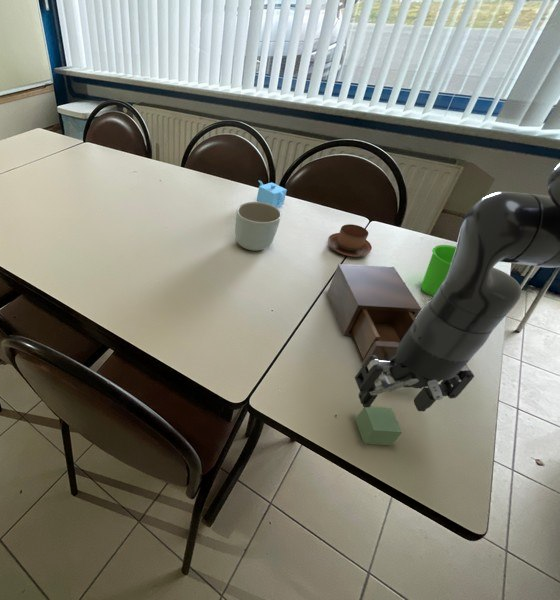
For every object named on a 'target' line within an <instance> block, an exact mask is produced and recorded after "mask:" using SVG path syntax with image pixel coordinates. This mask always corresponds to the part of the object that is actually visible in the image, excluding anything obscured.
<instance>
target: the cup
mask: <svg viewBox="0 0 560 600" xmlns="http://www.w3.org/2000/svg"><path fill="white" fill-rule="evenodd" d="M455 249H456V245H455V246H454V245H450V244H449V245H448V244H440V245H436V246H434V247H433V248H432V249H431V252H432V254H431V257H430V260H429V263H428V265H427V267H426V271H425V274H424V277H423V280H422V282H421V285H420V289H421V291H422V292H423V293H425V294H426V295H429V296H431V297H434V295H435V294H436V292H437V291H438V289H439V288H440V286H441V285H442V283H443V282H444V280H445V279H446V277H447V274H448V272H449V269H450V266H451V263H452V259H453V256H454V253H455Z"/></svg>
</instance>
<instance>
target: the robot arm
mask: <svg viewBox="0 0 560 600" xmlns="http://www.w3.org/2000/svg"><path fill="white" fill-rule="evenodd" d="M547 194H548V195H545V194H537V193H525V192H517V191H497V192H494V193H490V194H489V195H486V196H485V197H482V198H481V199H479V200H478V201H477V202H475V204H473V205H472V206H471V207H470V208H469V210H468V211H467V212H466V214H464V217H463V219H462V221H461V224H460V227H459V232H458V236H457V242H456V245H455V247H456V249H455V253H454V256H453V259H452V263H451V266H450V269H449V272H448V274H447V277H446V279H445V280H444V282H443V283H442V285H441V286H440V288H439V289H438V291H437V292H436V294H435V295H434V296H432V298H431V299H430V301H429V302H428V303H427V304H426V305H425V306H424V307H423V308H421V311H420V312H419V314H418V316H417V317H416V319H415V321H414V322H413V324H412V325H411V327H410V328H409V330H408V331H407V333H406V334H405V336H404V337H403V339H402V340H401V342H400V343H399V345H398V349H397V353H396V355H395V356H394V357H393V358H392V359H390V360H389V361H380V360H378V358H377V356H375V355H373V356H370V357H369V358H368V359H367V360H366V362H365V363H364V365H363V366H362V367H361V368H360V369H359V371H357V373H356V374H355V376H354V380H355V383H356V384H357V388H358V389H359V390H358V391H359V393H358V394H357V395H358V399H359V402H360V404H361V405H362V408H364V407H370V406H372V404H373V403H374V402H375V400H376V399H377V397H378V395H380V394H382V393H384V392H389V393H392V392H395V391H397V390H400V389H401V388H414V389H420V391H419V392H418V393H417V394H416V396H415V397H414V398H413V404H414V406H415V408H416V410H417V411H418V412H425V411H426V410H427V409H429V408H431V407H432V406H433V404H434V403H436V401H441V400H443V398H444V397H448V399H451V400H452V399H456V398H457V397H459V395H460V394H461V393H462V392H463V391H464V389H465V388H466V387H467V386H468V385H469V384H470V382H471V381H472V380H473V379H474V378H475V375H474V373H473V372H472V370H471V369H470V367H469V365H468V363H469V362H470V360H471V359H473V358H474V356H475V355H476V354H477V353H478V352H479V351H480V349H482V348H483V346H484V345H485V344H486V343H487V341H488V340H489V338H490V336H491V334H492V333H493V331H494V330H495V329H496V328H497V327H498V325H500V324H501V323H502V321H504V319H505V318H506V317H507V316H508V314H509V313H511V311H512V310H513V309H514V308H515V306H516V305H517V304H518V302H519V301H520V299H521V297H522V293H523V292H522V287H521V285H520V283H519V282H518V281H517V280H516V279H515V278H514V277H513V276H512V275H509V274H508V273H506V272H505V271H503V270H500V269H499V268H495V266H496V265H498V263H506V264H515V265H522V266H530V267H537V268H547V269H548V268H551V269H552V268H553V269H554V268H560V163H558V164H557V165H556V167H555V168H553V171H552V172H551V173H550V175H549V177H548V181H547ZM390 373H391V375H392V377H391V378H392V380H393V382H390V379H389V377H388V376H389V375H390ZM391 375H390V376H391ZM378 382H381V383H380V385H376V383H378ZM439 382H440V383H439Z"/></svg>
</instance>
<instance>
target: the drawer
mask: <svg viewBox="0 0 560 600" xmlns="http://www.w3.org/2000/svg"><path fill="white" fill-rule="evenodd" d="M416 318H417V317H416ZM416 318H415V317H414V315H413V314H412V312H411V311H393V310H376V309H361V310H360V312H359V314H358V316H357V318H356V320H355V322H354V324H353V326H352V328H351V331H352V334H353V336H352V337H353V338H354V340H355V343H356V346H357V347H358V350H359V352H360V355H361V357H362V359H363V361H362V363H361V364H360V367H361V368H362V366H363V365H364V363H365V362H366V360H367V359H368V358H369V357H370V356H373V355H375V356H377V358H378V360H380V361H389V360H390V359H392V358H393V357H394V356H395V355H396V353H397V349H398V345H399V343H400V342H401V340H402V339H403V337H404V336H405V334H406V333H407V331H408V330H409V328H410V327H411V325H412V324H413V322H414V321H415V319H416ZM389 375H390V377H391V378H392V375H391V373H389Z"/></svg>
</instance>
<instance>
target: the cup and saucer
mask: <svg viewBox="0 0 560 600" xmlns="http://www.w3.org/2000/svg"><path fill="white" fill-rule="evenodd" d="M368 236H369V231H368V230H367V229H366V228H365V227H363V226H361V225H357V224H353V223H352V224H349V223H348V224H344V225H342V226H341V227H340V230H339V232H335V233H332V234H331V235H329V236H328V237H327V243H328V245H329V247H330V248H331V250H333V251H335V252H337V253H338V254H341V255H343V256H347V257H356V258H357V257H358V258H359V257H363V256H366V255H368V254H370V252H371V251H372V248H373V247H372V244H371V242H370V241H368V240H367V238H368Z"/></svg>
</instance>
